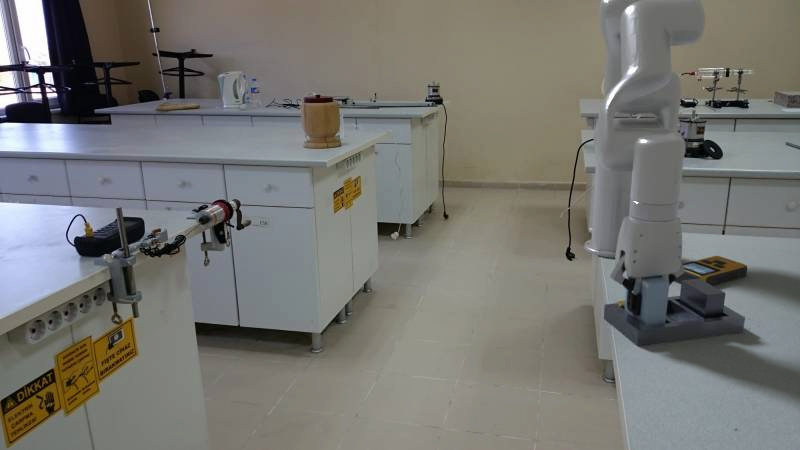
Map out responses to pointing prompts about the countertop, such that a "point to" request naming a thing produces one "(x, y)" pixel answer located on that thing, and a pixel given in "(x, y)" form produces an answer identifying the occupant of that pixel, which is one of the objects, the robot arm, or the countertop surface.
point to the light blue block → (652, 301)
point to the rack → (681, 316)
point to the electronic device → (713, 270)
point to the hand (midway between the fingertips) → (644, 310)
